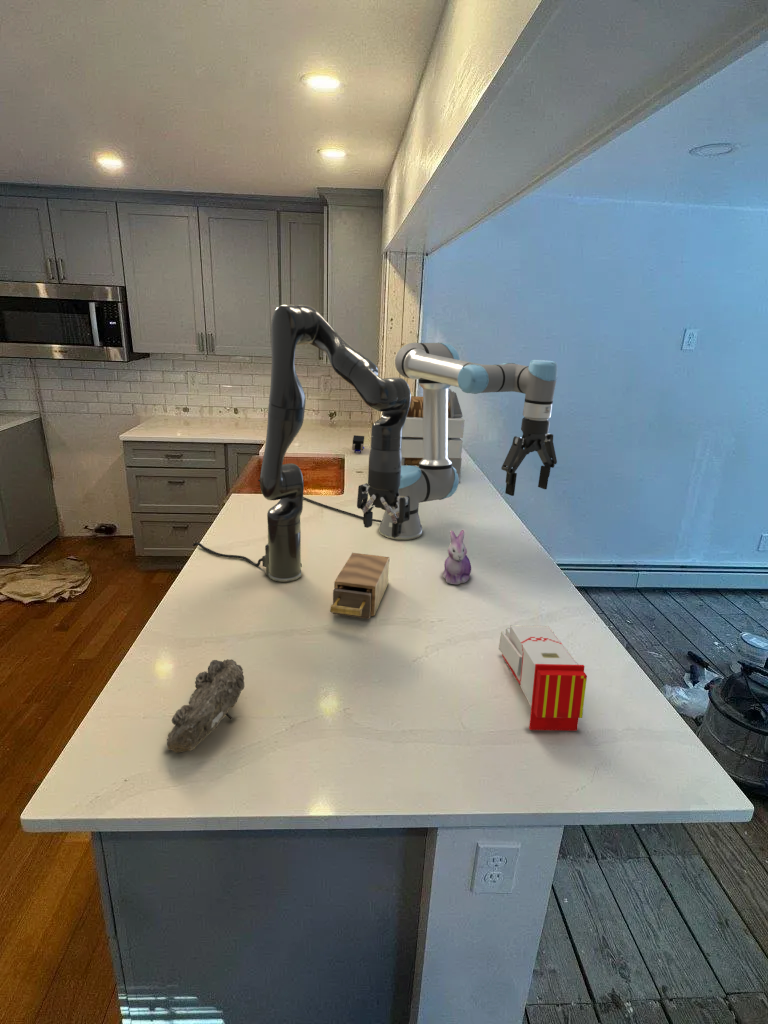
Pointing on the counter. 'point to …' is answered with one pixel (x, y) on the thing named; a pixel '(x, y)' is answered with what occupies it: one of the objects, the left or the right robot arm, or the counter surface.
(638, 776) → the counter surface
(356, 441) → the figurine character
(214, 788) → the counter surface
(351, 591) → the drawer
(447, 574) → the figurine
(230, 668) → the fossil
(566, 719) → the toy
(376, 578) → the cabinet
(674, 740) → the counter surface
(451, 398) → the grey slatted crate
